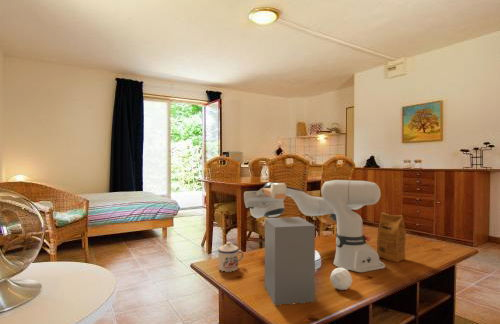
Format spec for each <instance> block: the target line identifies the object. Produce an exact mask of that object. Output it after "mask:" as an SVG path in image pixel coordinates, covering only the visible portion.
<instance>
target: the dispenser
mask: <svg viewBox="0 0 500 324" xmlns="http://www.w3.org/2000/svg"><path fill="white" fill-rule="evenodd" d="M315 238H316V225H315V224H313V223H311V222H309V221H308V220H306V219H304V218H302V217H299V216H296V217H294V216H293V217H292V216H291V217H275V218H268V217H266V218H264V289H265V288H266V289H265V291H266V290H267V291H266V292H267V295H268V296H269V298H270V297H271V298H270V299H272V300H271V302H272V301H273V302H272V304H273V305H274V304H275V305H279V306H281V305H280V304H290V305H294V304H293V303H300V304H305V303H304V302H311V303H315V301H316V300H315V298H316V295H315V294H316V291H315V289H316V288H315V287H316V279H315V278H316V275H315V274H316V239H315ZM275 305H274V306H275Z"/></svg>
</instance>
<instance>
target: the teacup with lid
mask: <svg viewBox="0 0 500 324" xmlns="http://www.w3.org/2000/svg"><path fill="white" fill-rule="evenodd" d="M217 252H218V270H219V271H220V270H221V271H220V272H223V271H225V272H224V273H231V272H232V271H233V272H235V270H236V271H237V270H238V268H239V262H241V261H242V260H243V258H244V254H245V253H244V251H242V249H239V247H238V246H236V245H234V244H233V243H232V242H230V241H226V243H225V244H224V245H222V246H219V247H218V250H217ZM239 253H241V256H240V258H239Z"/></svg>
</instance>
